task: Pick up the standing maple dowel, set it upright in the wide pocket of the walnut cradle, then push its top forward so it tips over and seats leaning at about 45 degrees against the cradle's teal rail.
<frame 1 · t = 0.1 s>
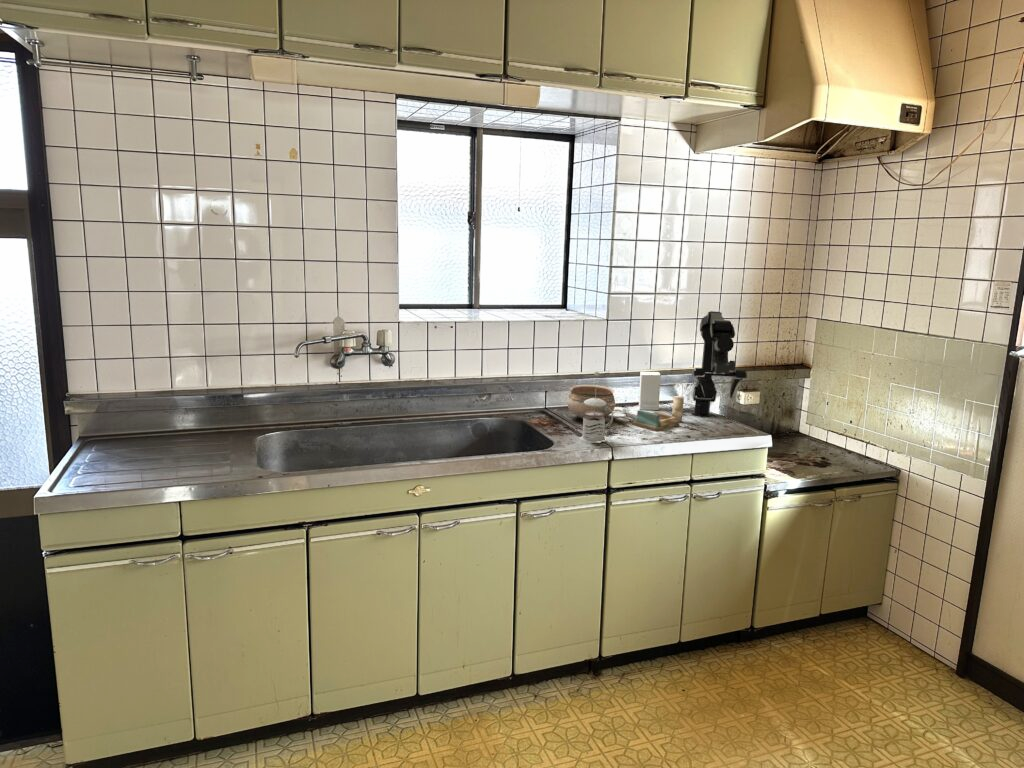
hand: (717, 397, 260), 15 cm above the worktop, tool pointing down, fingers open, 9 cm apart
skincare box: (648, 409, 304), on the worktop
cooking pot: (590, 419, 283), on the worktop
peg: (676, 421, 284), on the worktop
cradle: (659, 423, 280), on the worktop
french press: (595, 440, 256), on the worktop
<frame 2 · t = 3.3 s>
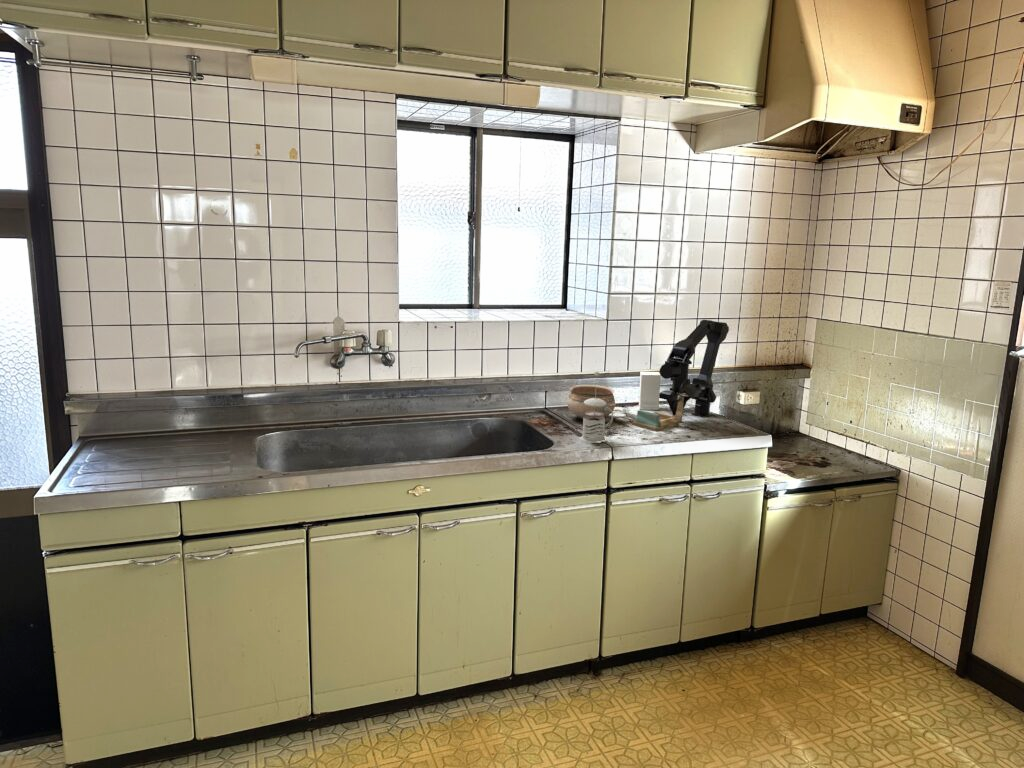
hand: (677, 414, 284), 3 cm above the worktop, tool pointing down, fingers closed on peg, 4 cm apart
peg: (676, 421, 284), on the worktop, touching gripper
everything else where it was.
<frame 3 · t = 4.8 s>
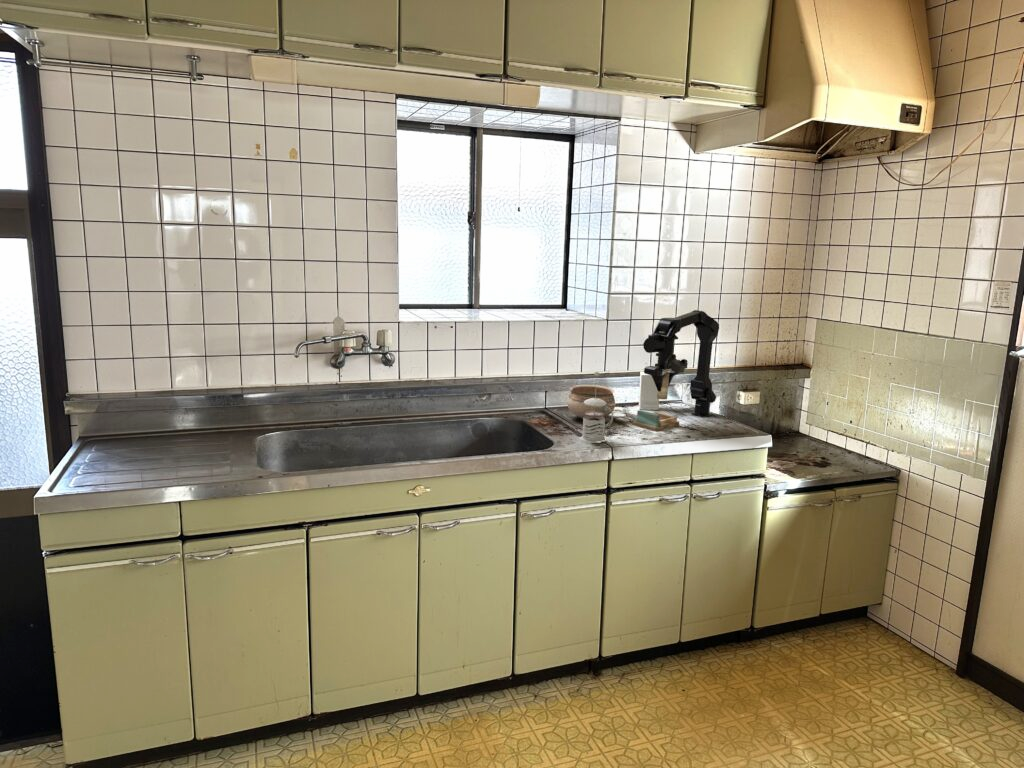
hand: (662, 390, 277), 13 cm above the worktop, tool pointing down, fingers closed on peg, 4 cm apart
peg: (661, 398, 278), point 10 cm above the worktop, touching gripper
everything else where it was.
when the fingers open (5 cm above the worktop, at t = 6.7 s): peg stays where it is, resting on cradle.
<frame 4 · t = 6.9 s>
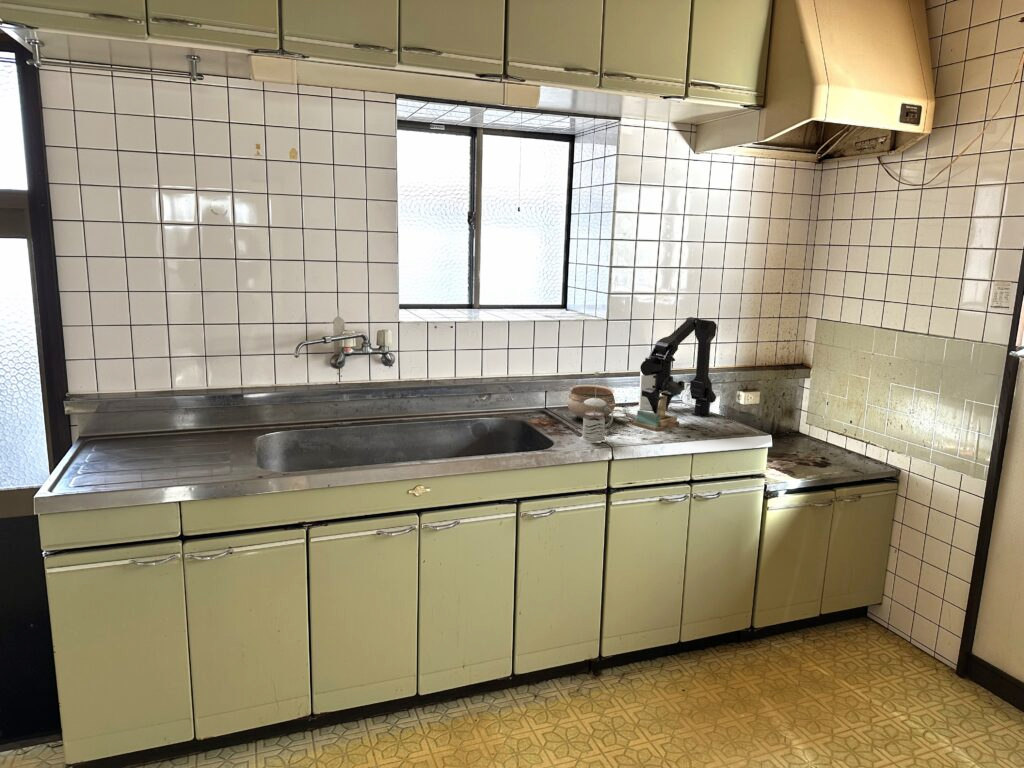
hand: (660, 412, 279), 5 cm above the worktop, tool pointing down, fingers open, 6 cm apart
peg: (659, 420, 279), point 1 cm above the worktop, touching cradle
everything else where it was.
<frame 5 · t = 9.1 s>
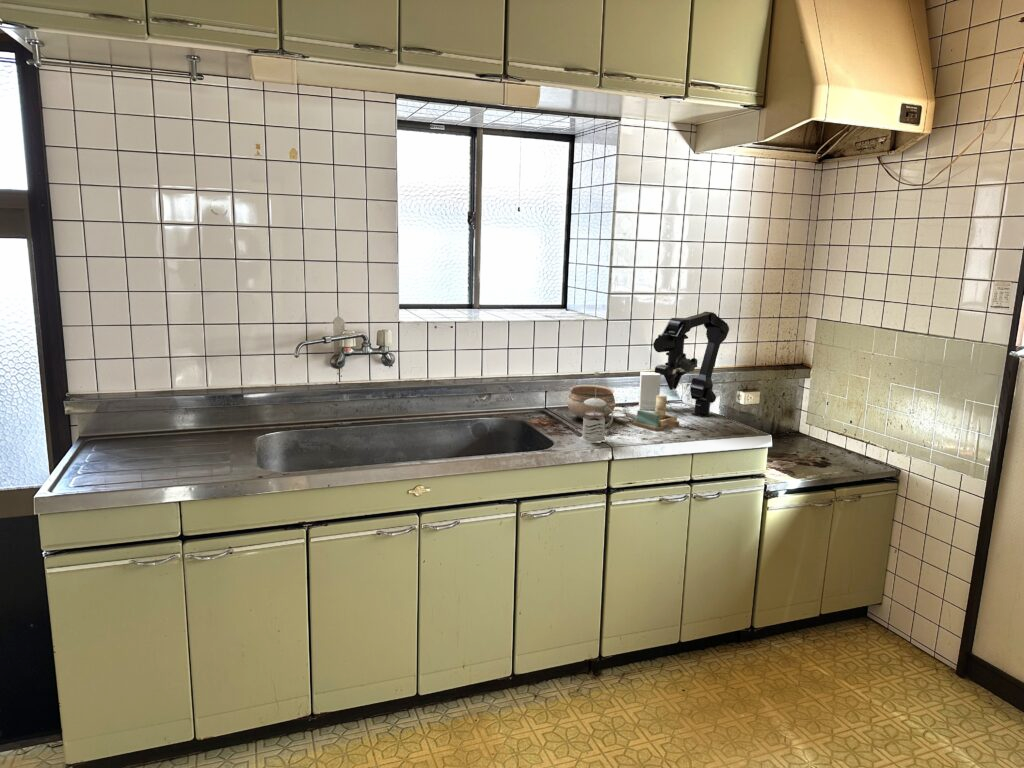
hand: (672, 389, 282), 13 cm above the worktop, tool pointing down, fingers closed
nothing on the worktop moved.
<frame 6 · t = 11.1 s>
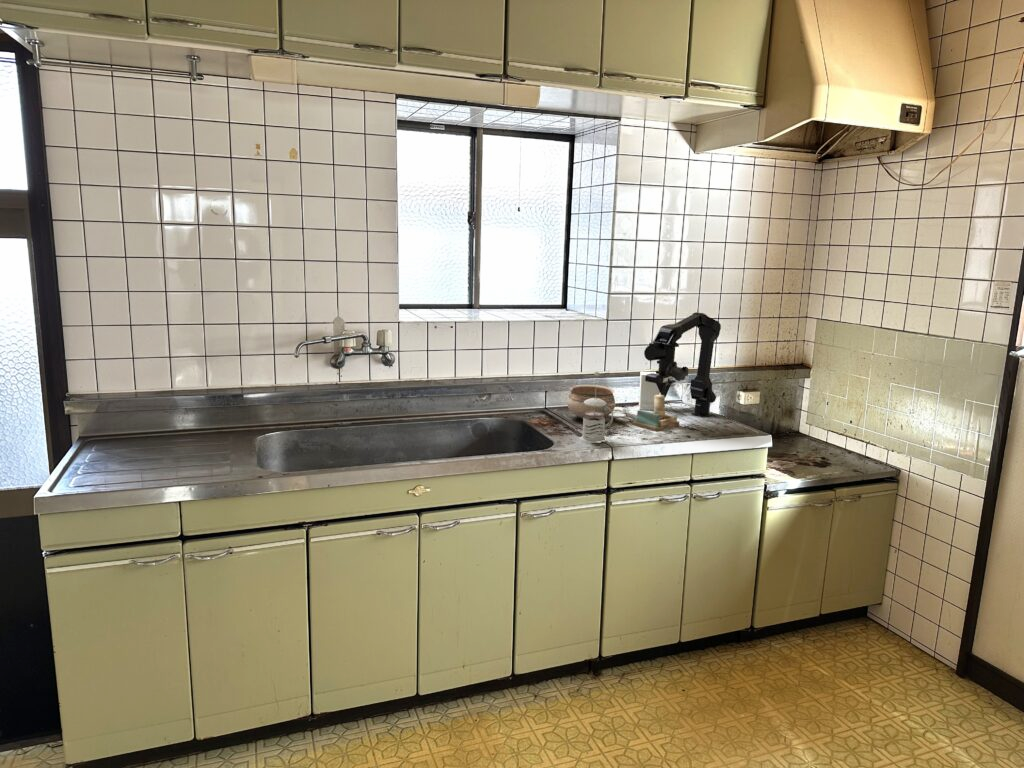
hand: (663, 397, 279), 10 cm above the worktop, tool pointing down, fingers closed
peg: (659, 420, 279), point 1 cm above the worktop, tilted 8°, touching cradle
everything else where it was.
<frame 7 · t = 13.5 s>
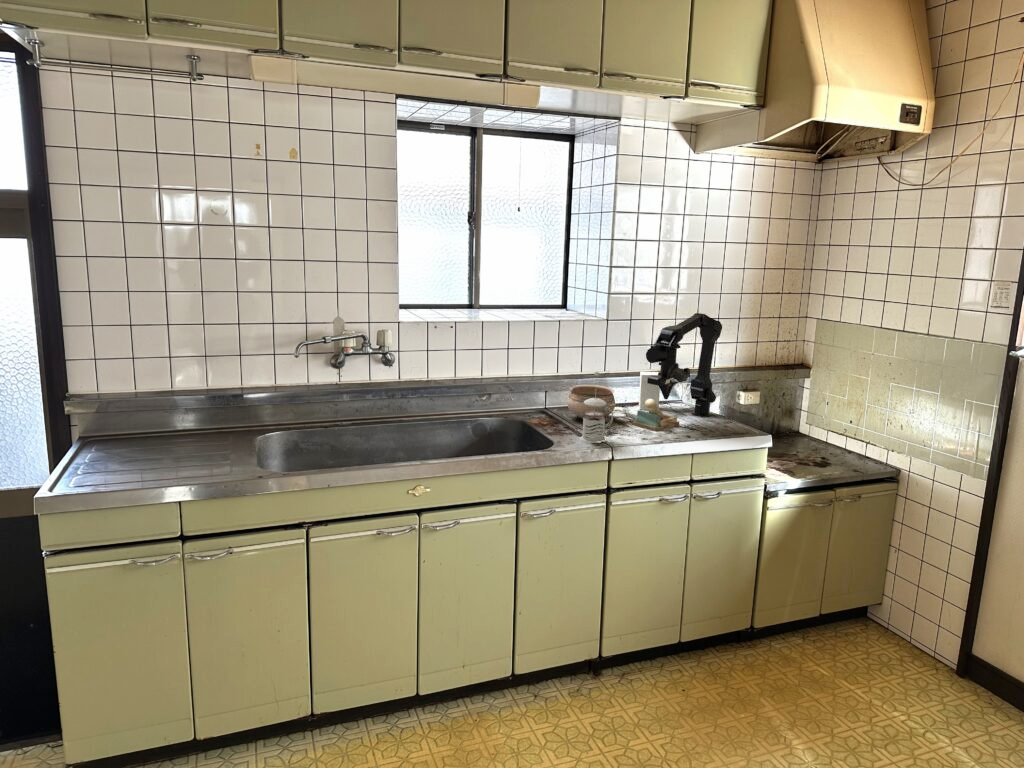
hand: (666, 399, 280), 10 cm above the worktop, tool pointing down, fingers closed
peg: (659, 417, 279), point 3 cm above the worktop, tilted 46°, touching cradle
everything else where it was.
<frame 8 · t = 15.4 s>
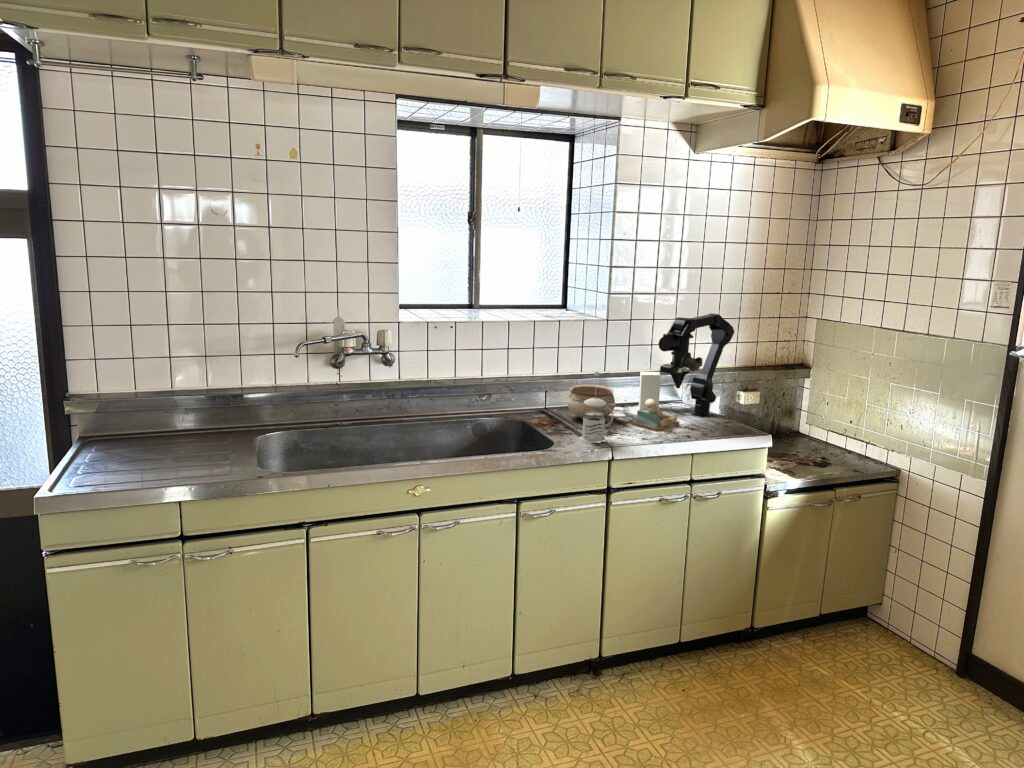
hand: (678, 388, 284), 13 cm above the worktop, tool pointing down, fingers closed
nothing on the worktop moved.
at the end: peg tilted 46°; peg inside the target area on the cradle (0.6 cm from its centre), point 2.6 cm above the cradle's base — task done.
